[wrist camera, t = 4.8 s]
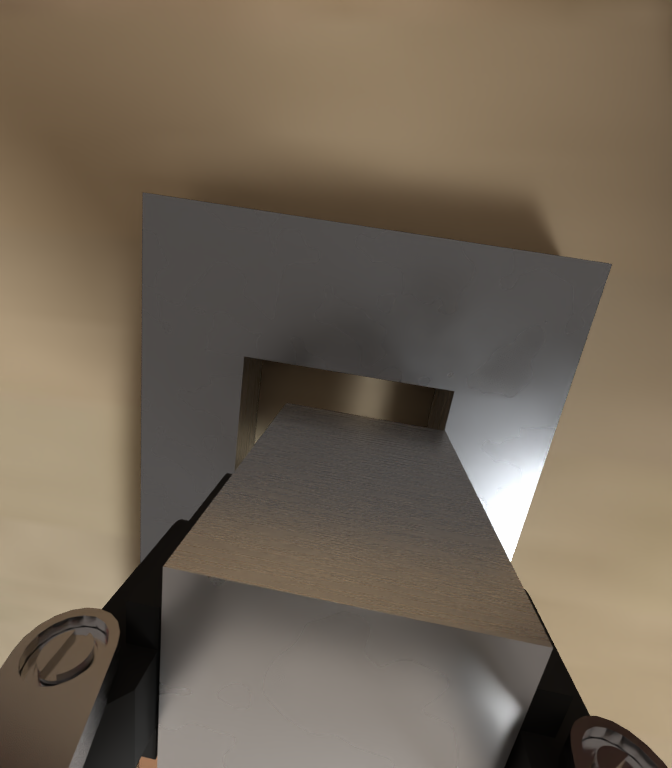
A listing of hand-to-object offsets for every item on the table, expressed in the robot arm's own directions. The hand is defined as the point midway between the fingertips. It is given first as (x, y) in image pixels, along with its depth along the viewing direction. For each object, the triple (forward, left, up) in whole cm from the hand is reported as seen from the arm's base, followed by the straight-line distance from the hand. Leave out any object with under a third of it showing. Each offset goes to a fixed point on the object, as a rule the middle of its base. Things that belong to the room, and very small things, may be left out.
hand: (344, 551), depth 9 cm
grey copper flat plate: (+1, +10, -7) cm, 12 cm away
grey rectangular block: (0, 0, -3) cm, 3 cm away
